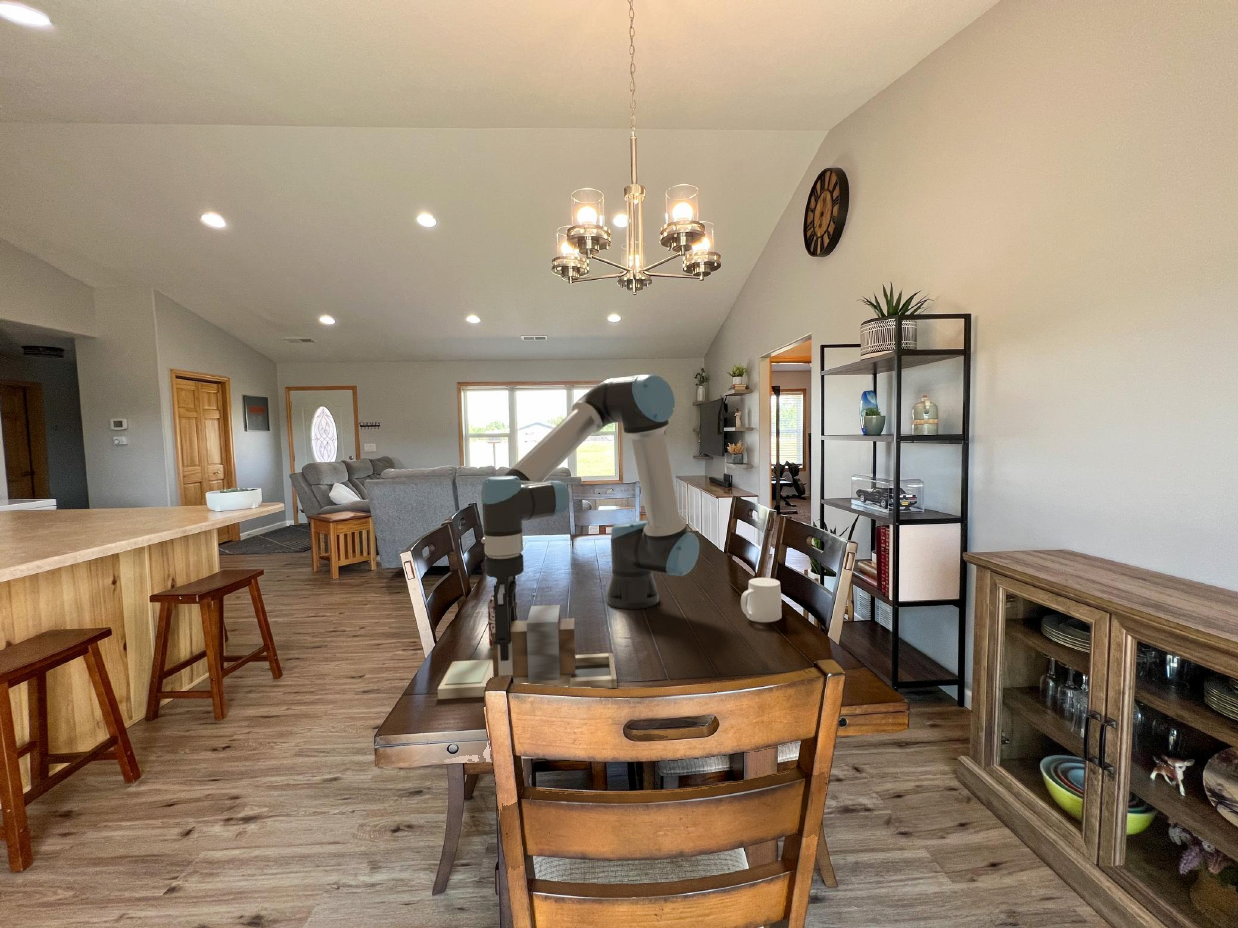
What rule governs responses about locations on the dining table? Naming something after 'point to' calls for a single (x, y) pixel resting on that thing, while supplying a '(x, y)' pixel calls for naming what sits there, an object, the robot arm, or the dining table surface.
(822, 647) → the dining table surface
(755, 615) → the mug
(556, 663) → the board
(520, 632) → the block
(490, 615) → the soda can
